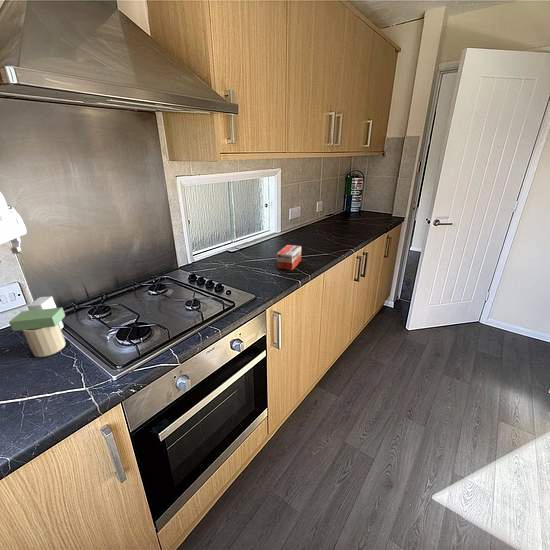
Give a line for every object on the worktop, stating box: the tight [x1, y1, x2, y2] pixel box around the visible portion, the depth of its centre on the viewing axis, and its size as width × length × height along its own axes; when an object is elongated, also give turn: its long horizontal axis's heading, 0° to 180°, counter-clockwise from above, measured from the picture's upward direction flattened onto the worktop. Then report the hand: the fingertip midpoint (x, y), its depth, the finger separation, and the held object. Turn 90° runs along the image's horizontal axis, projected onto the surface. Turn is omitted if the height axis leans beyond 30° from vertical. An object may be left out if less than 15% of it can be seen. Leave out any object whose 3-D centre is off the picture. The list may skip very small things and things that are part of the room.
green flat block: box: [8, 306, 66, 332], centre depth 85 cm, size 11×6×3 cm, turn 100°
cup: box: [21, 323, 67, 358], centre depth 88 cm, size 8×8×9 cm
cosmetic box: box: [27, 296, 65, 330], centre depth 95 cm, size 6×4×12 cm
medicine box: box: [276, 244, 302, 271], centre depth 147 cm, size 15×8×8 cm, turn 158°
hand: (7, 258), depth 85 cm, fingers open, 8 cm apart
